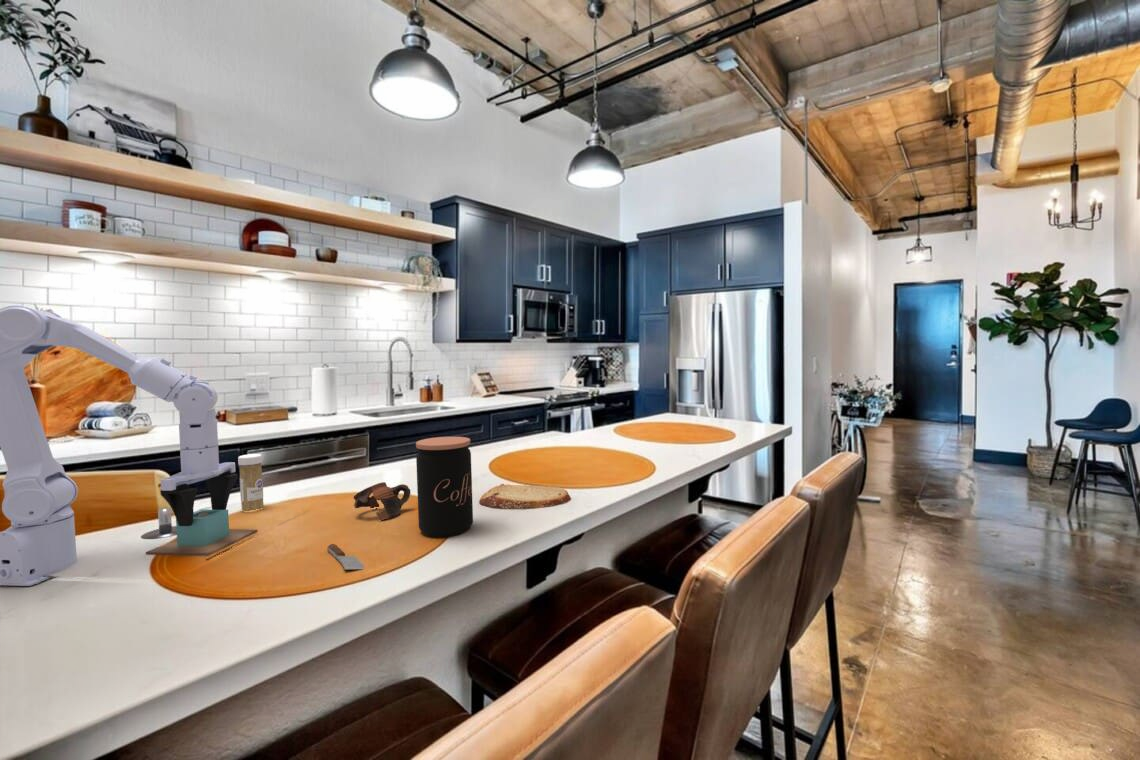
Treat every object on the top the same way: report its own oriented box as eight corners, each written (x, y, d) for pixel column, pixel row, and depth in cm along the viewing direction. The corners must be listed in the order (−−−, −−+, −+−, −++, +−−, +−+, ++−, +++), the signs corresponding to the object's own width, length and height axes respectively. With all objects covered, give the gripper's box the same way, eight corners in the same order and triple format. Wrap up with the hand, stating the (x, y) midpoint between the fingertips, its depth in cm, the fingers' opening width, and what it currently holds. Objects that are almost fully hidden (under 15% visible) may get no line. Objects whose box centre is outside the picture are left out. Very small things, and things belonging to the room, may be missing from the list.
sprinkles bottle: (258, 515, 112) (255, 456, 112) (236, 517, 112) (233, 457, 111) (268, 509, 117) (265, 452, 116) (247, 510, 116) (244, 453, 116)
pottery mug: (367, 528, 104) (351, 492, 105) (362, 536, 111) (347, 502, 113) (421, 502, 111) (405, 469, 112) (412, 511, 118) (398, 480, 120)
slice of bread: (577, 500, 120) (577, 485, 120) (520, 519, 107) (519, 502, 107) (528, 488, 132) (527, 474, 132) (471, 503, 119) (471, 488, 119)
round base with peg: (166, 543, 96) (164, 515, 96) (130, 542, 97) (128, 514, 97) (199, 529, 104) (197, 503, 103) (165, 529, 104) (164, 503, 104)
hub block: (208, 559, 87) (206, 523, 87) (145, 558, 89) (143, 522, 88) (257, 535, 99) (256, 503, 99) (202, 534, 100) (200, 502, 100)
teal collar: (205, 546, 91) (204, 518, 91) (177, 545, 91) (175, 518, 91) (229, 535, 96) (228, 509, 96) (202, 534, 97) (201, 509, 97)
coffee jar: (433, 543, 93) (430, 447, 92) (409, 529, 101) (406, 441, 100) (483, 529, 100) (480, 440, 99) (457, 517, 108) (454, 434, 107)
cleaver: (374, 564, 83) (342, 565, 80) (372, 573, 83) (340, 575, 80) (356, 542, 94) (327, 543, 91) (354, 550, 94) (325, 551, 91)
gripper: (185, 454, 85) (189, 532, 86) (248, 440, 100) (251, 507, 100) (148, 454, 86) (152, 531, 87) (215, 440, 101) (218, 507, 101)
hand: (203, 518), depth 94 cm, fingers open, 7 cm apart
